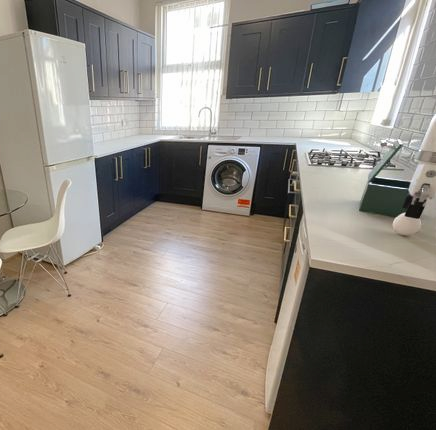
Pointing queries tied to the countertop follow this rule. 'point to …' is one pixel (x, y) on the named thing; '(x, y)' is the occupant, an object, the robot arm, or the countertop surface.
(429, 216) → the countertop surface
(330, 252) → the countertop surface
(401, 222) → the egg
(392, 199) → the bin
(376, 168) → the bin lid
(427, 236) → the countertop surface
